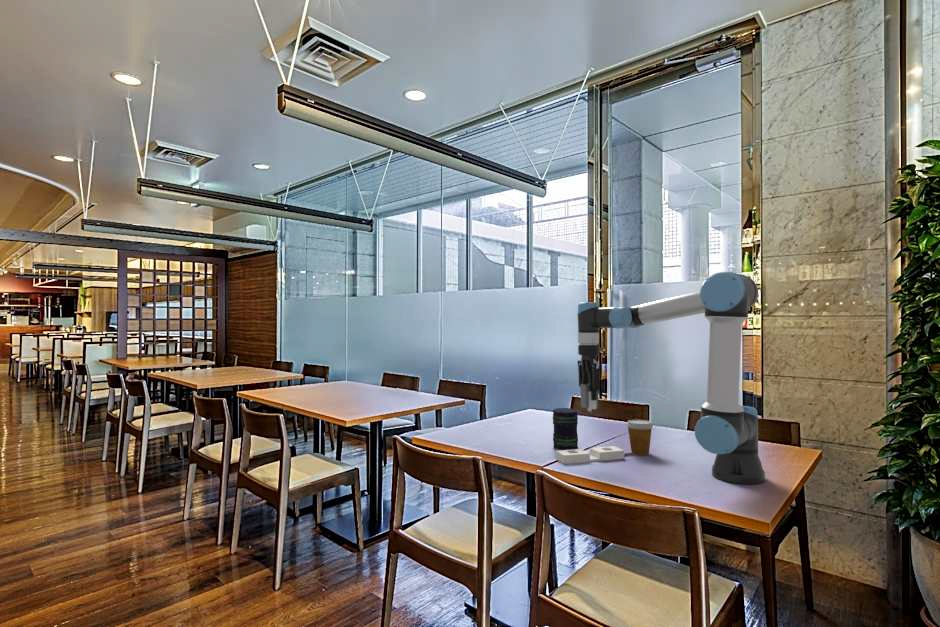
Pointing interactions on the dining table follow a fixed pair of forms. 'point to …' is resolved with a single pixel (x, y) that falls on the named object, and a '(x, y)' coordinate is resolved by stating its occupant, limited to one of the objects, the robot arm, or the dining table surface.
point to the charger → (586, 396)
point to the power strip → (590, 455)
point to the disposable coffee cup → (640, 436)
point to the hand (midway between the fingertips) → (589, 407)
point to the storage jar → (565, 429)
